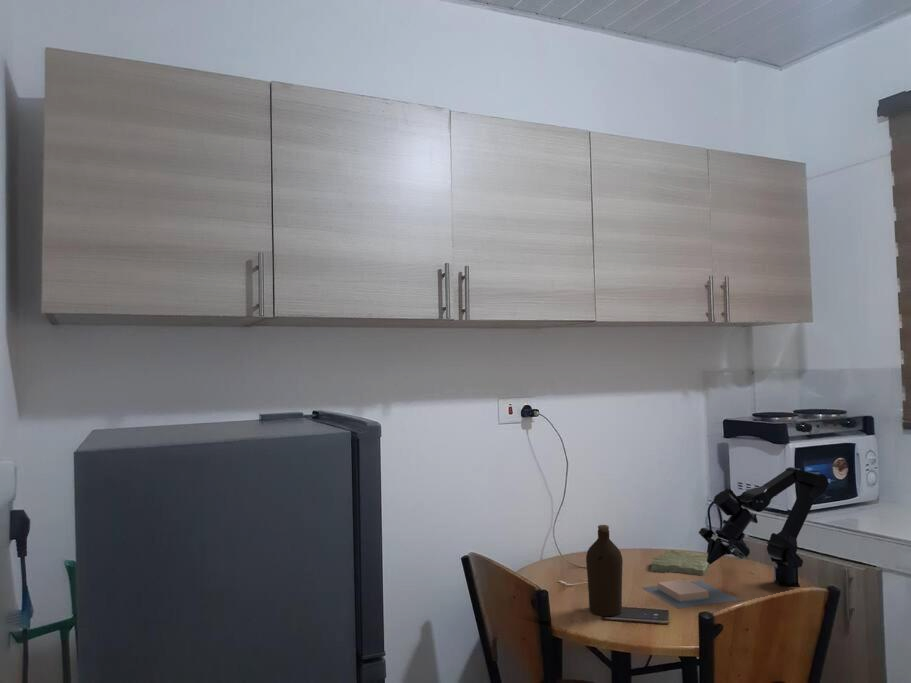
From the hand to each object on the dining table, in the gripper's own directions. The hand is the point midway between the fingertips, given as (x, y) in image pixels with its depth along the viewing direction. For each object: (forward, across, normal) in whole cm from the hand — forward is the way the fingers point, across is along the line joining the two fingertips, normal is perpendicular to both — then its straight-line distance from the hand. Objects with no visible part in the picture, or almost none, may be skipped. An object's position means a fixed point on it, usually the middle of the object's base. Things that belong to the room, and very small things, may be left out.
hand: (708, 563), depth 216 cm
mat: (+12, 0, -1) cm, 12 cm away
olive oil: (+34, -3, +21) cm, 40 cm away
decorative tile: (+1, +28, -13) cm, 31 cm away
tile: (+9, 0, -2) cm, 9 cm away
